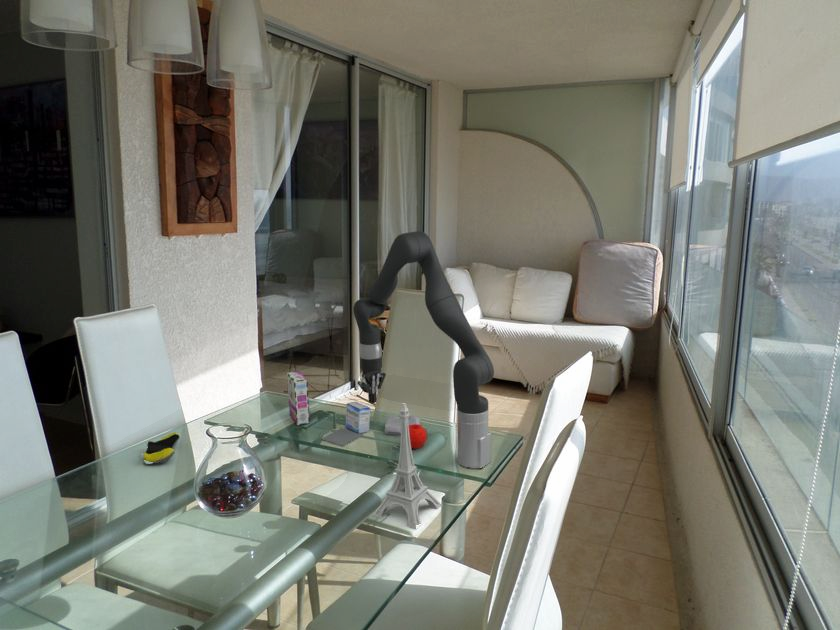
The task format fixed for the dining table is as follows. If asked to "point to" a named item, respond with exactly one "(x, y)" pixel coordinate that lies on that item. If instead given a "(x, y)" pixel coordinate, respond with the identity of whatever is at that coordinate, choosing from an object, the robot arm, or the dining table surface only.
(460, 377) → the robot arm
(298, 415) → the candy bar box
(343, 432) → the mat
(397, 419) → the stone block
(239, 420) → the dining table surface
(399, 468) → the eiffel tower
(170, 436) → the yellow black curved piece
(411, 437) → the apple
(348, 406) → the medicine box
